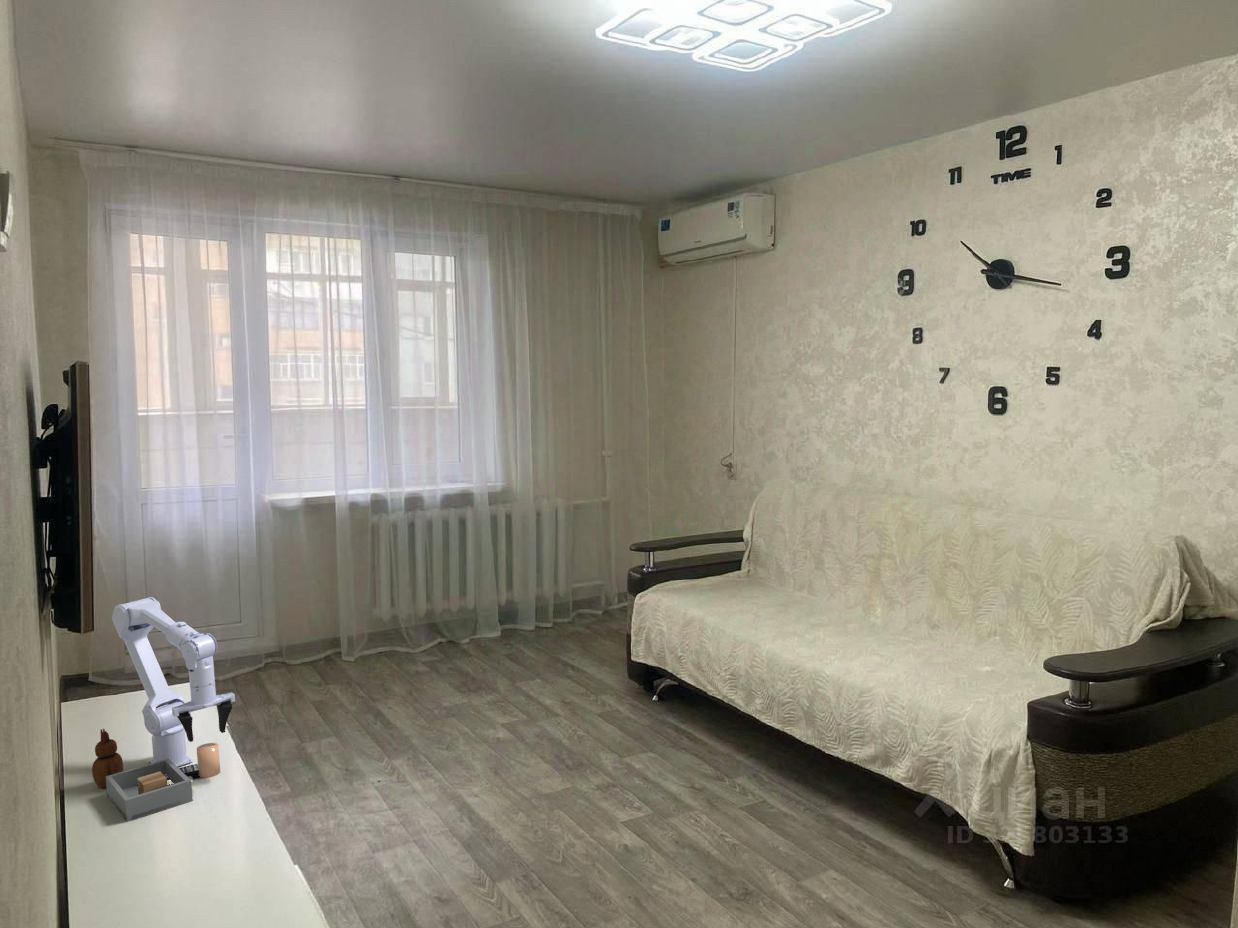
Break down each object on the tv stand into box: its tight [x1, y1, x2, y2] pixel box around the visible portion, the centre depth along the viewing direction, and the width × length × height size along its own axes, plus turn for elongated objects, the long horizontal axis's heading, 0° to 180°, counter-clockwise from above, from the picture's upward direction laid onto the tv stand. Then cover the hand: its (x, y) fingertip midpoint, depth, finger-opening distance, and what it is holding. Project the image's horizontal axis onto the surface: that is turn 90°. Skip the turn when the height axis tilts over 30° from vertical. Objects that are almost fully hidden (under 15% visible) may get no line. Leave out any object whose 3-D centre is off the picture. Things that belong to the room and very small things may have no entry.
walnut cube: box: [137, 772, 167, 795], centre depth 211 cm, size 5×5×5 cm
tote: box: [106, 759, 194, 823], centre depth 213 cm, size 18×14×5 cm
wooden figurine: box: [91, 728, 124, 789], centre depth 221 cm, size 7×6×15 cm
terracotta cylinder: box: [196, 742, 221, 779], centre depth 226 cm, size 5×5×7 cm
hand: (206, 735), depth 225 cm, fingers open, 7 cm apart
